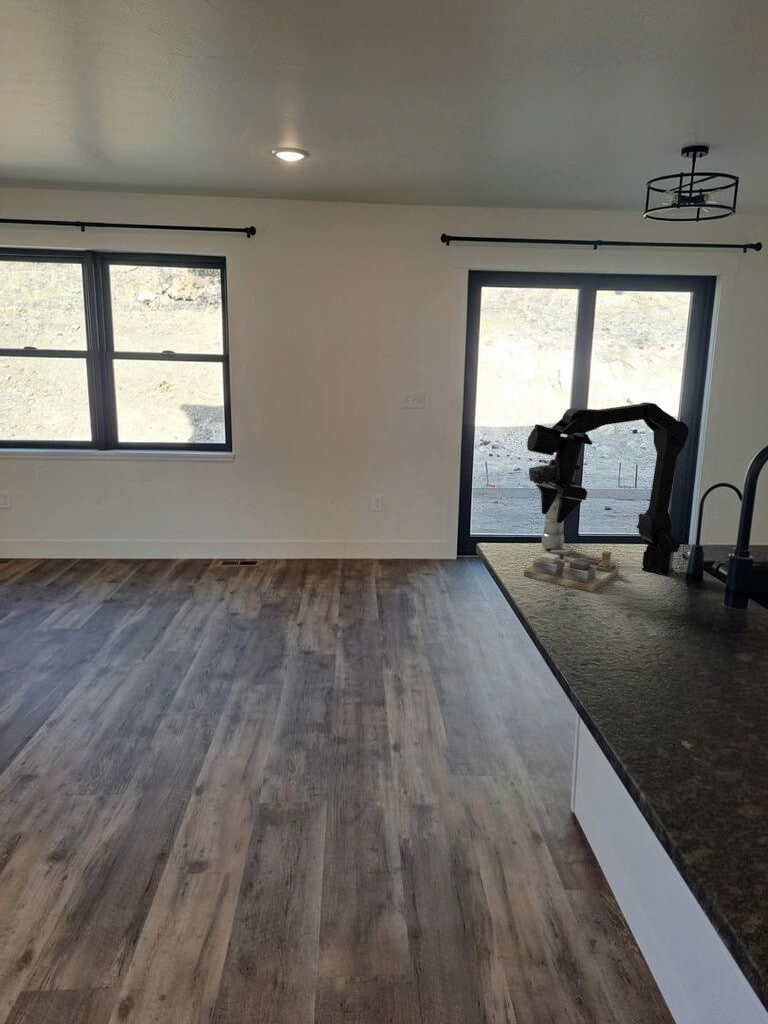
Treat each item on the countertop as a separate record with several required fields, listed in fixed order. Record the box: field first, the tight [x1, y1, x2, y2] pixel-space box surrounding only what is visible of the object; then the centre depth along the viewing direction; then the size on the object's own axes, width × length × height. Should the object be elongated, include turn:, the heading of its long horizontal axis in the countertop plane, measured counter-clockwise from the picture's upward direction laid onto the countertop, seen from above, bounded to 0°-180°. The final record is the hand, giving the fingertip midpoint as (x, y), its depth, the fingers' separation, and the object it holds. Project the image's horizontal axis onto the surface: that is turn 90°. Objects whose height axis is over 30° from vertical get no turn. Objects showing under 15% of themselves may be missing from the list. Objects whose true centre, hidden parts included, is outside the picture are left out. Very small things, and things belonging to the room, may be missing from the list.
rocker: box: [547, 549, 573, 555], centre depth 174 cm, size 6×3×1 cm, turn 51°
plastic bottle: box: [541, 487, 565, 551], centre depth 187 cm, size 6×7×20 cm
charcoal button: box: [570, 558, 590, 571], centre depth 159 cm, size 4×4×2 cm
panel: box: [523, 554, 620, 593], centre depth 166 cm, size 18×18×4 cm
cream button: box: [539, 552, 560, 564], centre depth 164 cm, size 4×4×2 cm
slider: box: [598, 550, 614, 569], centre depth 166 cm, size 3×2×4 cm
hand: (551, 518), depth 164 cm, fingers open, 9 cm apart
